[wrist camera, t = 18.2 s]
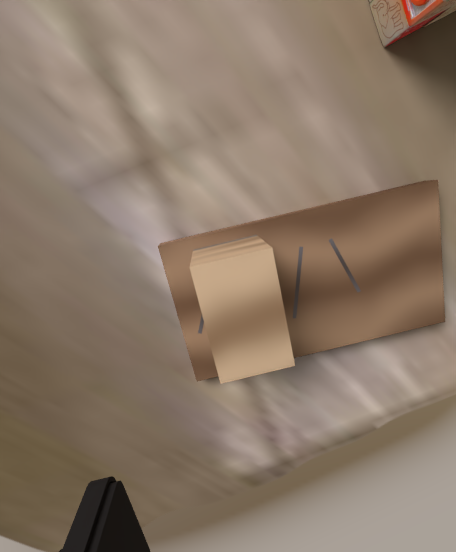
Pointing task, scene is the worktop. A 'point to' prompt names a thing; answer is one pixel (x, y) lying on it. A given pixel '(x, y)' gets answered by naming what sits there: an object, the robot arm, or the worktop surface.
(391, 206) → the board
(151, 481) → the worktop surface
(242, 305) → the block
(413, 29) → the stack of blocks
